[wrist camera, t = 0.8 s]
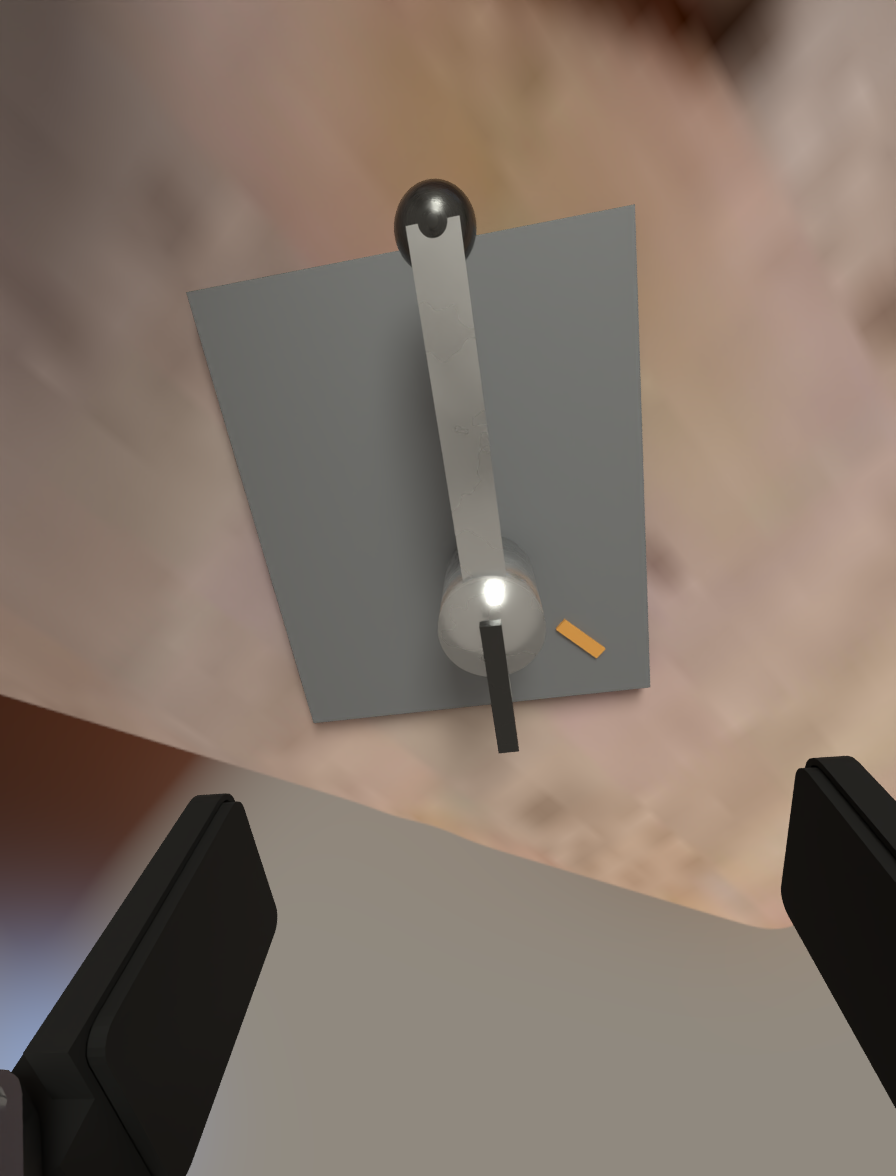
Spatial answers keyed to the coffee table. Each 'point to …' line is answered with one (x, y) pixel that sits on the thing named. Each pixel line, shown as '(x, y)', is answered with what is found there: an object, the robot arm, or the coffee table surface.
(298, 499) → the stand plate
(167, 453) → the coffee table surface
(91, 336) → the coffee table surface
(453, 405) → the bar with ball ends
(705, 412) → the coffee table surface
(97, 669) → the coffee table surface
